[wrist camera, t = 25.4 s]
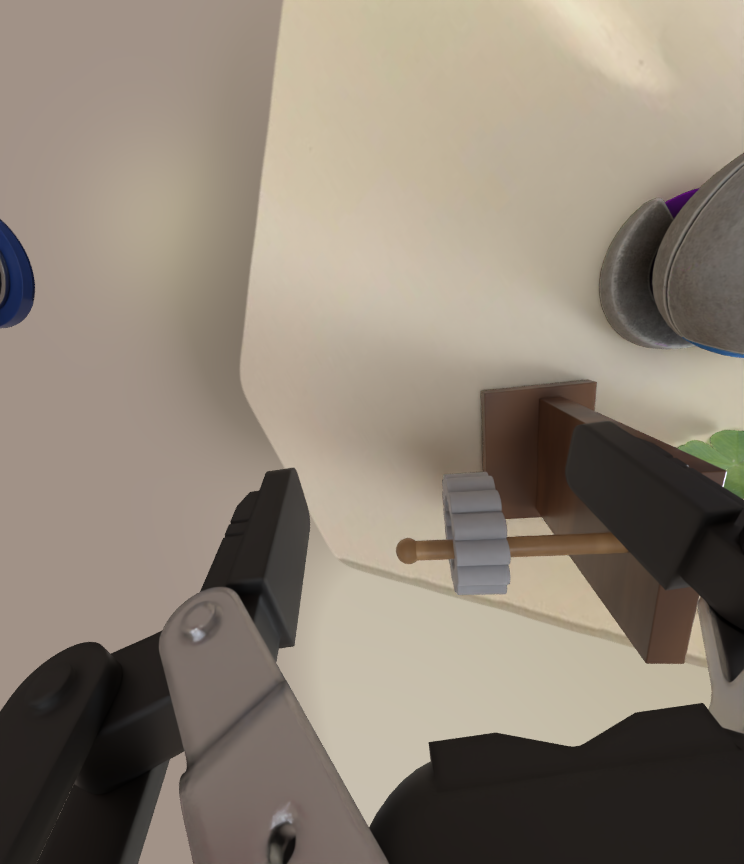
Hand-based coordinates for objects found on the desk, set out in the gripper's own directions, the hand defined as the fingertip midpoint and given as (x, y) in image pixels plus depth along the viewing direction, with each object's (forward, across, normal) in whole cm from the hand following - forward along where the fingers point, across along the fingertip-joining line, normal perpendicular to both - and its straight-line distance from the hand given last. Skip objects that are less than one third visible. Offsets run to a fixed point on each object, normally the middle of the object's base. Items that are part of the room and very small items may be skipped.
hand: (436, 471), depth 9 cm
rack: (+20, +10, -15) cm, 27 cm away
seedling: (+17, +31, -17) cm, 39 cm away
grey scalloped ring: (+12, +5, -13) cm, 18 cm away
